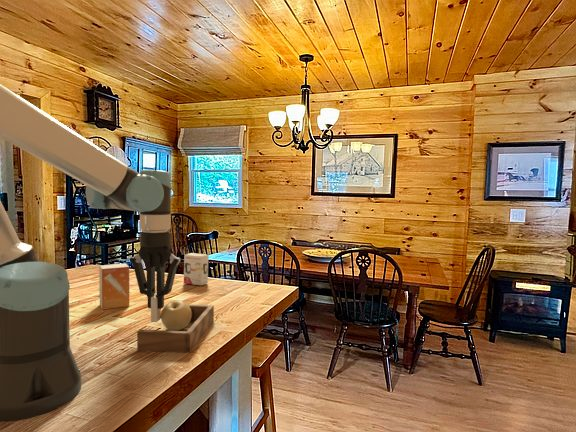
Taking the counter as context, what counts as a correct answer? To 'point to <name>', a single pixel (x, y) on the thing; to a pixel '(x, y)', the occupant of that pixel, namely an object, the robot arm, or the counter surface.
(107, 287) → the small box
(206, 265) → the ink box
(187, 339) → the trough
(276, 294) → the counter surface
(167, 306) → the apple
